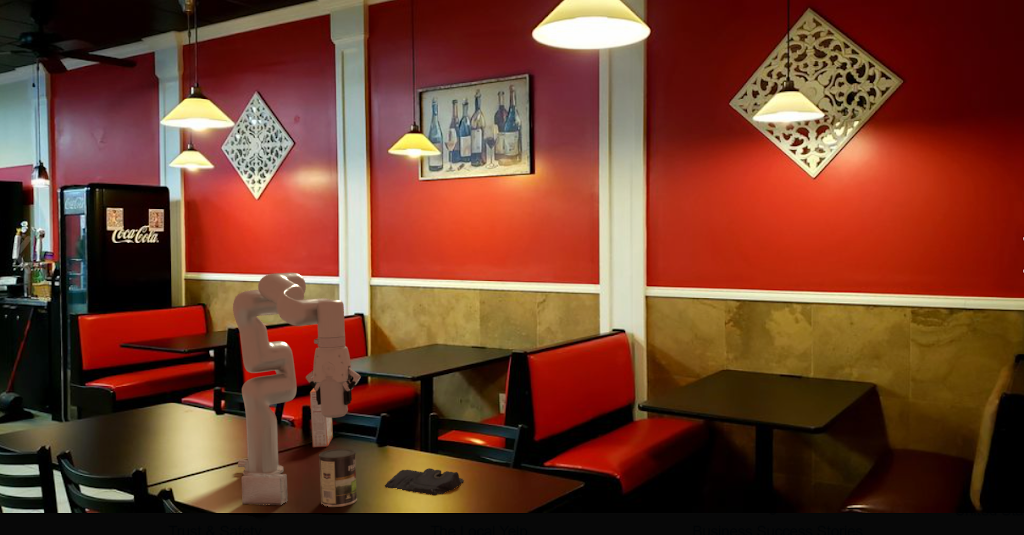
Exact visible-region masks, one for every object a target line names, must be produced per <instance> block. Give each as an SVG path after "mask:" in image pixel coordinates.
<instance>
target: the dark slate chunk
mask: <svg viewBox="0 0 1024 535" xmlns="http://www.w3.org/2000/svg"><path fill="white" fill-rule="evenodd" d="M459 475H460V474H459V473H458V471H456V472H454V471H448V470H447V471H444V472H442V470H440V469H433V468H432V467H431V468H426V469H424V470H423V471H417V470H413V469H412V470H411V469H401V470H400V471H399V472H397V473H396V474H395V475H394V476H393V477H392V478H391V479H390V480H388V481H387V482H386V483H385V485H384V488H387V487H388V488H387V489H393V488H397V489H396V490H398V489H402V490H401V491H404V490H408V491H407V492H410V491H413V492H412V493H416V492H420V493H419V494H423V493H426V495H429V494H430V495H429V496H437V495H444V494H446V493H447V491H448V492H450V491H453V490H455V489H457V488H458V487H457V486H459V485H460V486H461V485H462V484H463V482H465V480H464V479H463V478H462V477H461V478H460V476H459ZM461 483H462V484H461ZM460 486H459V487H460ZM456 487H457V488H456ZM454 488H455V489H454ZM449 490H450V491H449ZM445 492H446V493H445ZM431 494H432V495H431Z"/></svg>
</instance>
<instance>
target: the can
mask: <svg viewBox="0 0 1024 535" xmlns="http://www.w3.org/2000/svg"><path fill="white" fill-rule="evenodd" d="M325 377H326V379H324V380H322V381H321V383H320V394H321V414H322V415H323V416H324V417H327V418H332V419H334V418H335V419H336V418H341V417H345V416H346V414H347V413H349V411H348V410H349V408H348V405H344V391H345V388H344V386H343V383H337V381H336V380H334V379H332V377H333V376H325Z"/></svg>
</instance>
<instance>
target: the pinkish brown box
mask: <svg viewBox="0 0 1024 535" xmlns="http://www.w3.org/2000/svg"><path fill="white" fill-rule="evenodd" d="M287 476H288V475H287V474H286V473H281V474H266V473H248V474H247V476H244V475H243V476H241V497H242V501H241V502H242V505H243V504H258V505H257V506H266V504H267V505H268V504H270V505H282V504H283V503H285V502H286V503H288V502H289V500H288V497H289V496H288V477H287ZM287 501H288V502H287ZM286 503H285V504H286ZM259 504H260V505H259ZM263 504H264V505H263ZM283 505H284V504H283ZM283 505H282V506H283Z"/></svg>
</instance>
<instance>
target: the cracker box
mask: <svg viewBox="0 0 1024 535" xmlns="http://www.w3.org/2000/svg"><path fill="white" fill-rule="evenodd" d="M309 398H310V400H309V401H310V413H311V414H310V416H311V417H310V418H311V436H312V437H311V438H312V448H327V447H329V445H330V443H331V442H332V439H333V435H334V433H333V418H327V417H324V416H323V415H322V414H321V405H318V403H317V401H316V391H315V390H314V388H313V387H312V389H311V391H310V392H309Z"/></svg>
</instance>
